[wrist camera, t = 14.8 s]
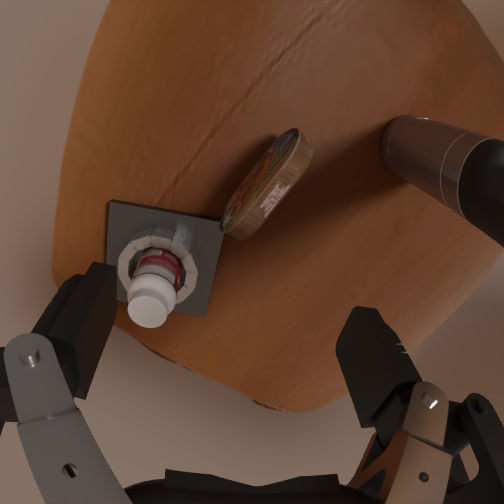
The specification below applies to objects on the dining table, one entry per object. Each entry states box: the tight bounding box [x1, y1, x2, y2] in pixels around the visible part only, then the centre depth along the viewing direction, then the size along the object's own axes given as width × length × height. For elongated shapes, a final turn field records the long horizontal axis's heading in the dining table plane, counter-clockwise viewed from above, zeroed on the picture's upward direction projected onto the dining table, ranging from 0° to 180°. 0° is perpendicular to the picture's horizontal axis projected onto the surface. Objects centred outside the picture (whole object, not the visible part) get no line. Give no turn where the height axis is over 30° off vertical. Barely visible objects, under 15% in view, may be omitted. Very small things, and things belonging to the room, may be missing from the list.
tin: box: [219, 128, 314, 241], centre depth 37 cm, size 15×3×8 cm, turn 143°
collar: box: [106, 199, 224, 317], centre depth 44 cm, size 16×16×4 cm
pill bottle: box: [127, 247, 182, 328], centre depth 40 cm, size 6×6×11 cm
